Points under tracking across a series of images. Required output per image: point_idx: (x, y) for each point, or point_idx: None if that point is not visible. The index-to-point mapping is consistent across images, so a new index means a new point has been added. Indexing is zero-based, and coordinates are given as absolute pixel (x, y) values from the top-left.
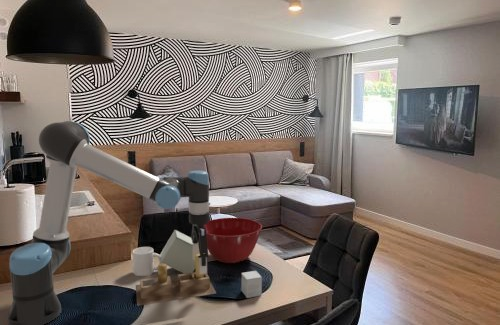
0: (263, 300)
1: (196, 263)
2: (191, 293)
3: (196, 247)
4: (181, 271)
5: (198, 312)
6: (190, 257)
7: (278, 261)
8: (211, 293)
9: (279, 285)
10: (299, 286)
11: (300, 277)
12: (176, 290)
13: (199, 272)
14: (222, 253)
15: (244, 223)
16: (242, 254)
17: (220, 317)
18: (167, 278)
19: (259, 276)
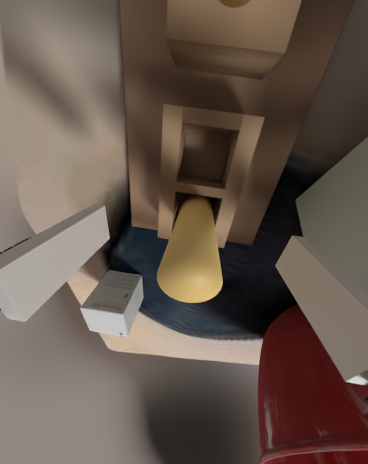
0: (94, 286)
1: (181, 229)
2: (153, 156)
3: (337, 324)
4: (332, 169)
5: (54, 144)
6: (356, 237)
7: (226, 359)
8: (134, 214)
9: (140, 323)
10: (128, 337)
11: (155, 350)
12: (199, 101)
13: (97, 207)
14: (300, 333)
15: None
16: (261, 352)
17: (31, 192)
18: (255, 19)
19: (93, 329)
